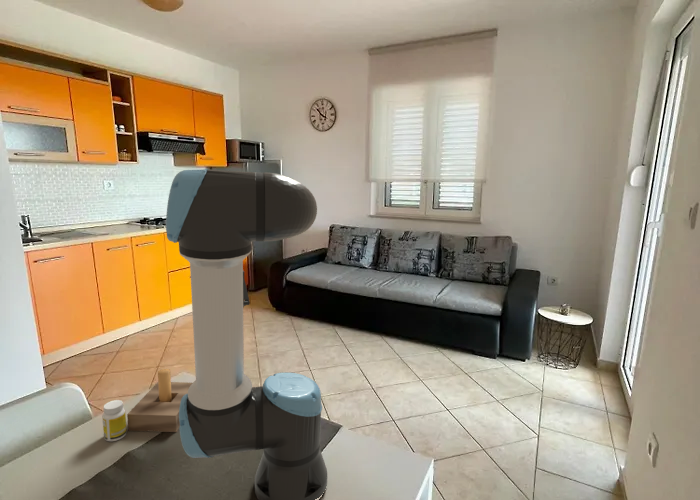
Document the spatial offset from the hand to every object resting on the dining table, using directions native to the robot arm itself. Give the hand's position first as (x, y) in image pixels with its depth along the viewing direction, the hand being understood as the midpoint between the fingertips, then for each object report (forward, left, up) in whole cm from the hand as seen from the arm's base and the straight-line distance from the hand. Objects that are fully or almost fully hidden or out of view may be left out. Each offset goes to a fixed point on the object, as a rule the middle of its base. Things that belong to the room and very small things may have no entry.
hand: (219, 326), depth 110 cm
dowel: (-9, +12, -22) cm, 26 cm away
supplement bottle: (-19, +20, -22) cm, 35 cm away
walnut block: (-9, +12, -22) cm, 26 cm away
